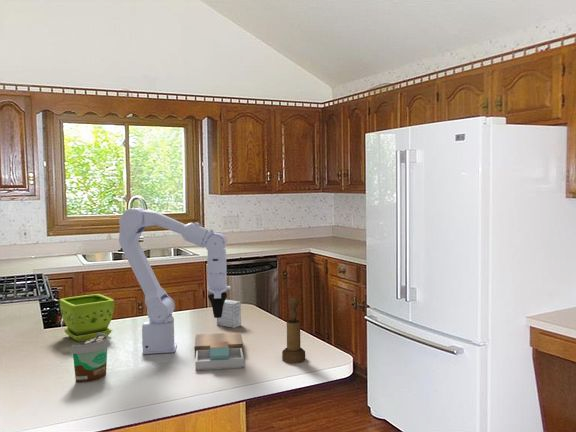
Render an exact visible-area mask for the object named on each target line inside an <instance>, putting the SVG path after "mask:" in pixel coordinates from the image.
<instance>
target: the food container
mask: <svg viewBox="0 0 576 432" xmlns="http://www.w3.org/2000/svg"><path fill="white" fill-rule="evenodd" d="M110 345H111V342H110V338H109V335H108V336H107V335H106V334H104V333H97V336H96V337H95V338H92V339H89V340H86V341H82V342H81V343H80V344H71V352H70V354H72V357H73V367H74V378H75V383H89V382H95V381H98V380H101V379H103V378H104V377H106V375H107V366H108V365H107V363H108V362H107V361H108V347H109V346H110Z"/></svg>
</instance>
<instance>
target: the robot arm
mask: <svg viewBox="0 0 576 432" xmlns="http://www.w3.org/2000/svg"><path fill="white" fill-rule="evenodd" d="M118 224H119V235H118V242H119V243H118V244H119V245H120V247H121V250H123V254H124V256H125V257H126V259H127V262H128V263H129V265H130V267H131V268H130V269H132V272H133V273H134V276H135V278H136V280H137V282H138V284H139V287H140V288H141V290H142V291H143V294H144V304H145V306H146V309H147V311H146V313H147V317H148V319H149V320H147V321H143V322H142V326H141V327H142V328H141V336H142V337H141V340H142V341H141V344H142V345H141V347H142V354H143V355H149V354H151V355H153V354H165V353H166V354H167V353H168V354H169V353H175V352H176V348H177V346H178V345H177V344H178V343H177V342H175V318H174V316H173V313H174V311H175V309H176V303H175V301H174V299H173V298H172V297H170V296H169V295H168V293H167V291H166V290H165V289H164V288H163V287H162V286H161V284H160V282H159V280H158V278H157V277H156V275H155V272H154V270H153V268H152V266H151V264H150V262H149V260H148V258H147V255H146V254H145V252H144V250H143V248H142V246H141V244H140V242H139V240H140V237H141V235H142V234H143V232H144V230H145V229H146V228H147V227H154V226H158V227H160V228H163V229H166V230H168V231H171V232H174V233H176V234H180V235H181V236H182V238H183V240H184V241H186V242H188V243H191V244H193V245H196V246H198V247H201V248H206V251H207V259H206V260H207V261H206V263H207V265H206V266H207V288H206V290H207V291H208V292H209V293H208V294H207V298H208V300H209V301H210V305H211V307H212V308H211V309H212V314H213V317H214V319H215V318H216V319H217V318H221V317H222V312H223V305H224V302H225V300H227V297H228V293H227V292H226V291H228V290H231V289H232V287H231V285H228V284H227V283H228V282H227V281H228V276H227V269H228V268H227V256H226V254H227V251H226V247H227V245H228V239H227V237H226V235H225V234H224V233H222V232H221V231H215V230H214V229H213V228H207V227H204V226H201V225H200V222H196V221H195V222H189V223H187V224H185V223H183V222H181V221H180V220H179V221H178V220H176V219H174V218H172V217H170V216H167V215H165V214H163V213H161V212H158V211H156V210H153V209H147V208H145V207H143V206H142V207H136V208H133V207H132V208H128V209H126V210H124V211H123V213H122V214H121V215H120V218H119V220H118Z"/></svg>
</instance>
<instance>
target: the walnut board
mask: <svg viewBox="0 0 576 432" xmlns="http://www.w3.org/2000/svg"><path fill="white" fill-rule="evenodd" d="M194 338H195V339H194V359H196V350H210V343H211V342H228V347H229V348H242V352H243V353H244V342H243V337H242V332H239V331H238V332H222V333H219V332H218V333H202V334H201V333H200V334H195V337H194Z"/></svg>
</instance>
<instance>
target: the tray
mask: <svg viewBox="0 0 576 432" xmlns="http://www.w3.org/2000/svg"><path fill="white" fill-rule="evenodd" d="M194 359H195V360H194V361H195V364H194V365H195V366H194V368H195V371H197V372H198V371H212V370H213V371H214V370H227V369H229V370H230V369H242V368H243V369H244V368H245V365H244V364H245V359H244V351H243V352H242V348H229V359H220V360H210V350H196V358H194Z"/></svg>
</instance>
